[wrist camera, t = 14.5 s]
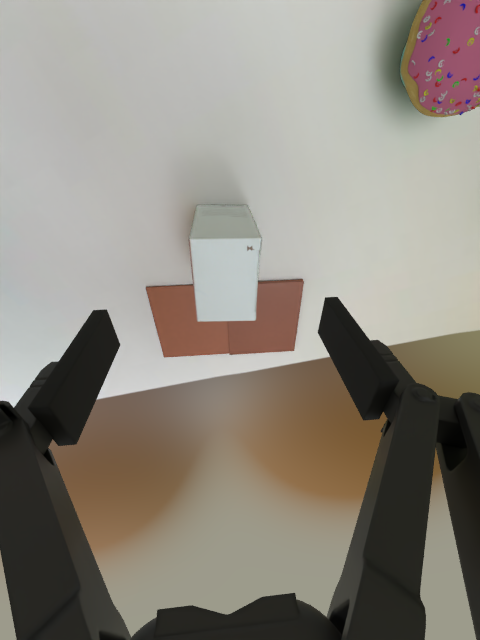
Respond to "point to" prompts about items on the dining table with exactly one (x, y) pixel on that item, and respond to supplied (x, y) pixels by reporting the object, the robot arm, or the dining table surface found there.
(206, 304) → the small box
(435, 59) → the cupcake
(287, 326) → the napkin
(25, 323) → the dining table surface
